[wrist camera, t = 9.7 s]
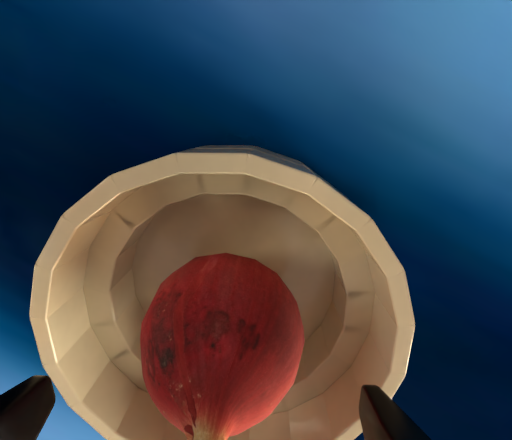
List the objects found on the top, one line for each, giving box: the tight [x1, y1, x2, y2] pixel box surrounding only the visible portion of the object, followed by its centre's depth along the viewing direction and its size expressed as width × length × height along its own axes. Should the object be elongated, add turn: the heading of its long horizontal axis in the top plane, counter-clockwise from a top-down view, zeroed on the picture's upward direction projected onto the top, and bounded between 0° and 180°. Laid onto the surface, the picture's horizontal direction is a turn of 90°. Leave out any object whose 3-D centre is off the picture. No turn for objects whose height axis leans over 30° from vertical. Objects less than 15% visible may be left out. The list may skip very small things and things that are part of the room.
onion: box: [140, 253, 305, 440], centre depth 11 cm, size 6×6×8 cm
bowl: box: [29, 145, 415, 440], centre depth 13 cm, size 13×13×5 cm
